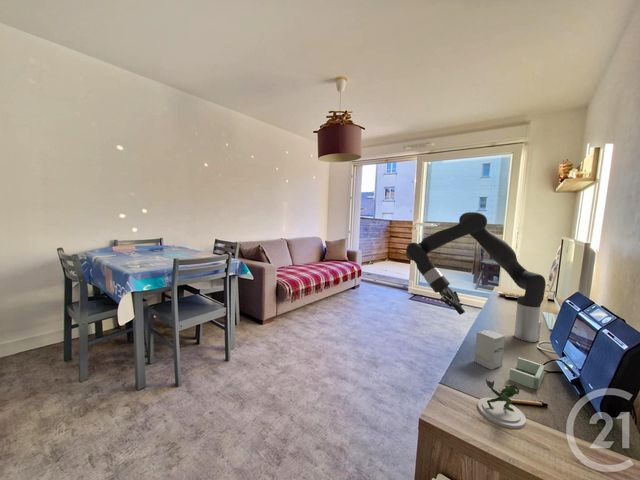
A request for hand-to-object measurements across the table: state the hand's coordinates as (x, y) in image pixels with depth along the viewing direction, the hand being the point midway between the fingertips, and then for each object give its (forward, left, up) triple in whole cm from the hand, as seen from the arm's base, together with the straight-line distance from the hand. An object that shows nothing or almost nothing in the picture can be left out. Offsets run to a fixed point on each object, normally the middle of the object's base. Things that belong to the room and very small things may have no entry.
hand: (462, 313), depth 117 cm
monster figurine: (+5, +37, -18) cm, 41 cm away
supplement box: (-8, +8, -18) cm, 21 cm away
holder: (-17, +17, -18) cm, 30 cm away
